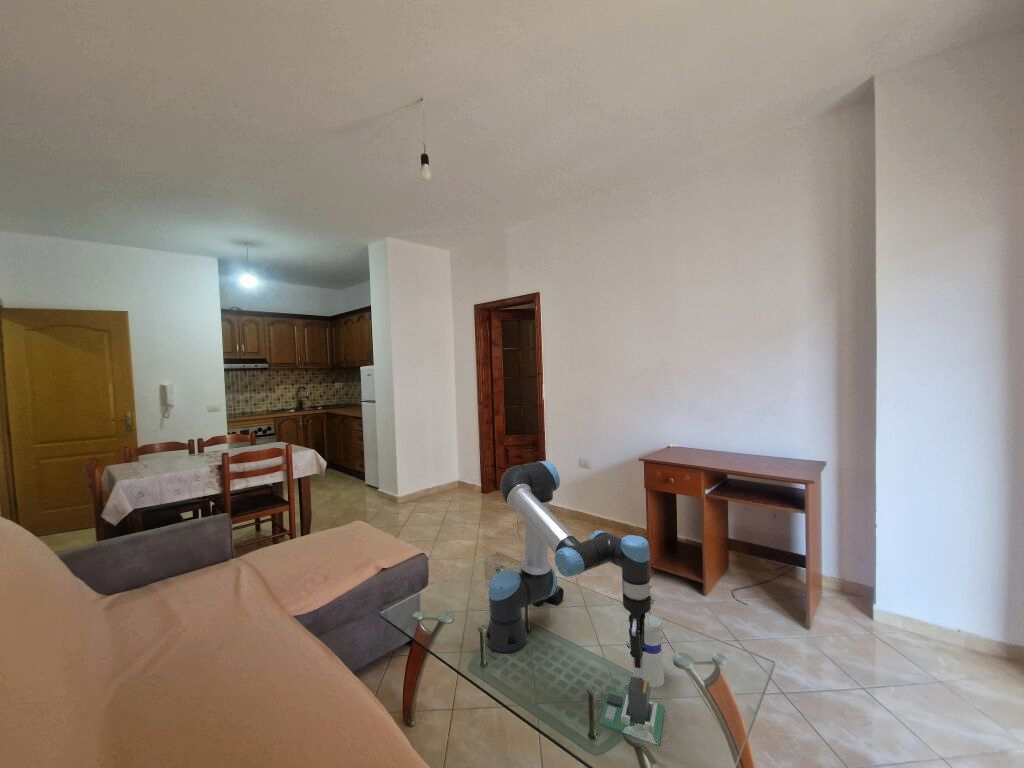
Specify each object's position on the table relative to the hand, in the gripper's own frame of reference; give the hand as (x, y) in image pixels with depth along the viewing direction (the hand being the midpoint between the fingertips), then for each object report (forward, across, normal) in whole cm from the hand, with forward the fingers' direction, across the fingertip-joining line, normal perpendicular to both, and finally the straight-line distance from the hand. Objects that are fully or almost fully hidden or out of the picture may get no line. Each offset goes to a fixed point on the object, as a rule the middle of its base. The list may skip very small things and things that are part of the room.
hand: (638, 675), depth 117 cm
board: (+13, 0, +2) cm, 13 cm away
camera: (+13, +48, +45) cm, 67 cm away
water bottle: (+13, +18, -1) cm, 22 cm away
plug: (+12, 0, 0) cm, 12 cm away
